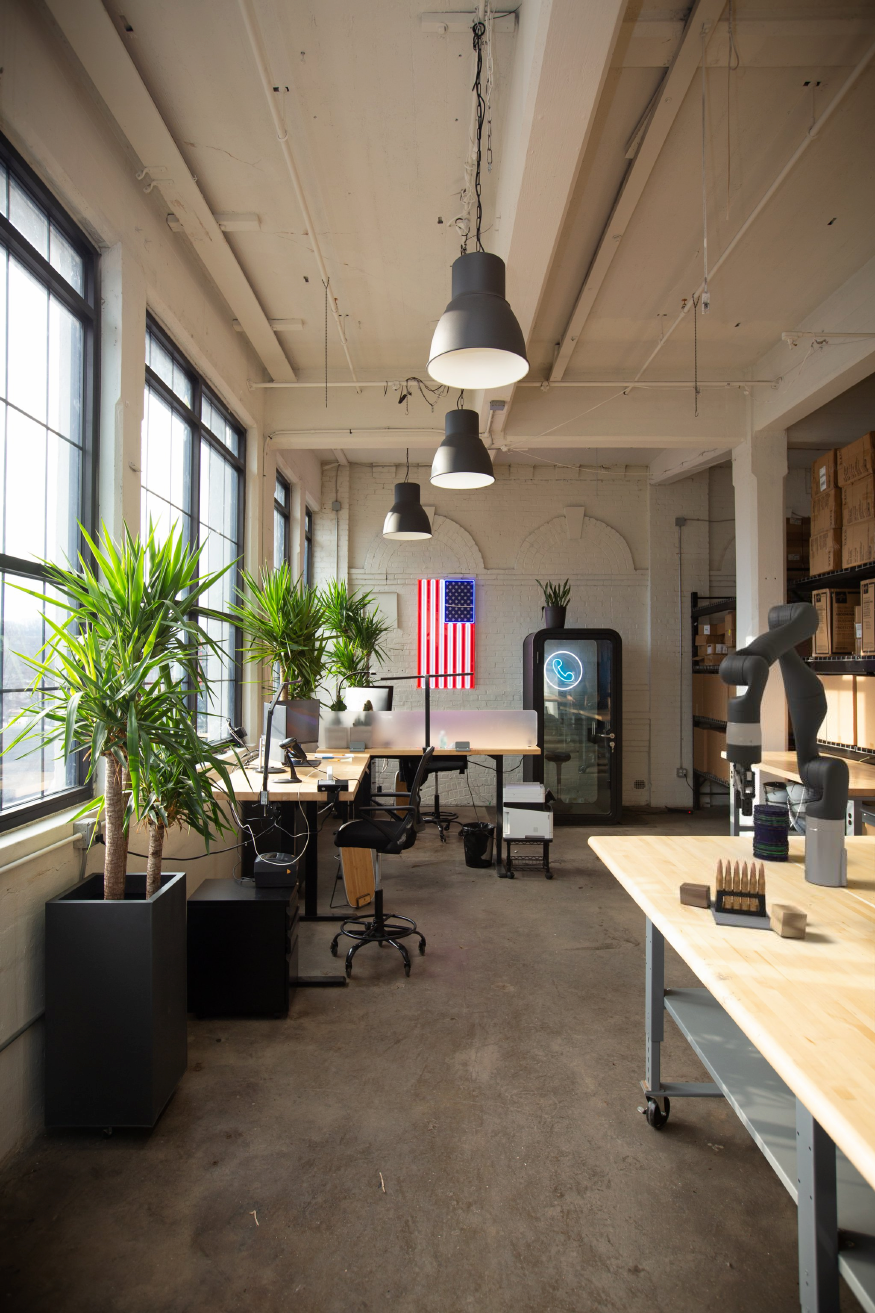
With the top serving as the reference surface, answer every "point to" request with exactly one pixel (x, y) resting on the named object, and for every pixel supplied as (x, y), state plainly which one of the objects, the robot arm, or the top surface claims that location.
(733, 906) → the ammunition clip
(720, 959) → the top surface
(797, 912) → the oak block
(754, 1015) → the top surface
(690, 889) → the walnut block
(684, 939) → the top surface
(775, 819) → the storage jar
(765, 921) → the pad
